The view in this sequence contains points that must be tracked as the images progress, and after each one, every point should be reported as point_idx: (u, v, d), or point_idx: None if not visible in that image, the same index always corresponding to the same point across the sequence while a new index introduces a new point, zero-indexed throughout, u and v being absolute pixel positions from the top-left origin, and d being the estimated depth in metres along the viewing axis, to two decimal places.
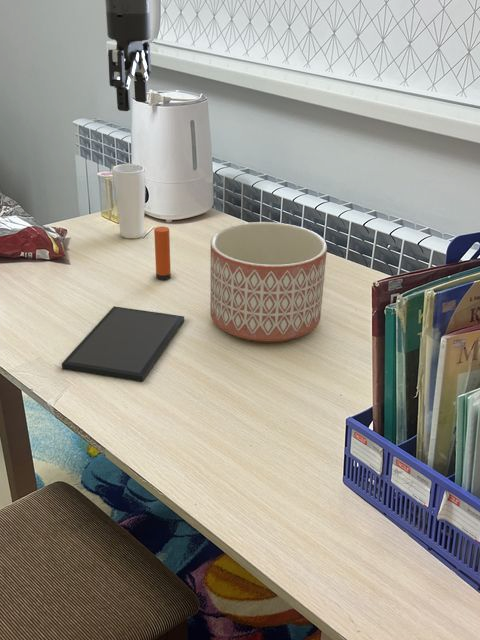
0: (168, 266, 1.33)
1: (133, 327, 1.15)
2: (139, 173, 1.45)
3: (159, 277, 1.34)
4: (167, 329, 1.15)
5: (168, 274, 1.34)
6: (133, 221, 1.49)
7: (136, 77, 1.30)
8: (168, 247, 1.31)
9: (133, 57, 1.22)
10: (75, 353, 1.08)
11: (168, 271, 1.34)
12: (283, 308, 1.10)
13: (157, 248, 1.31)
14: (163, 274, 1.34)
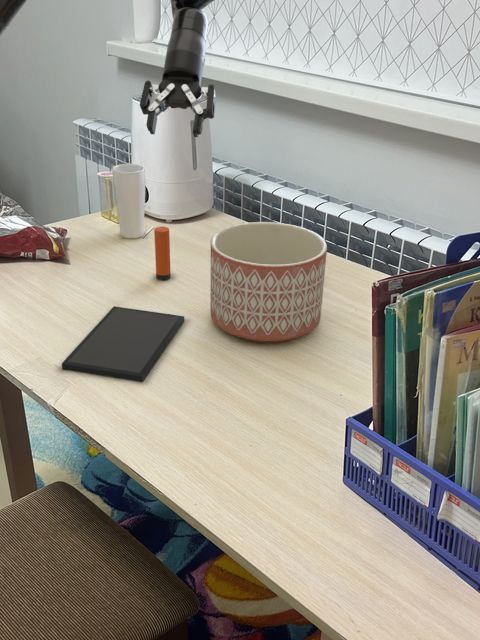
0: (168, 266, 1.33)
1: (133, 327, 1.15)
2: (139, 173, 1.45)
3: (159, 277, 1.34)
4: (167, 329, 1.15)
5: (168, 274, 1.34)
6: (133, 221, 1.49)
7: (155, 110, 1.33)
8: (168, 247, 1.31)
9: None
10: (75, 353, 1.08)
11: (168, 271, 1.34)
12: (283, 308, 1.10)
13: (157, 248, 1.31)
14: (163, 274, 1.34)
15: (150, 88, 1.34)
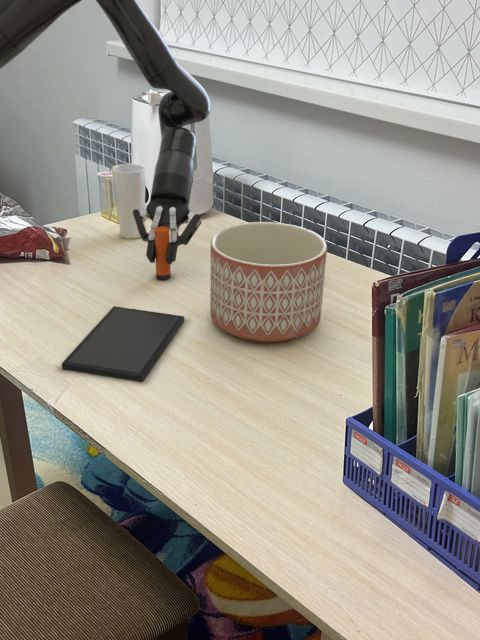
0: (168, 266, 1.33)
1: (133, 327, 1.15)
2: (139, 173, 1.45)
3: (159, 277, 1.34)
4: (167, 329, 1.15)
5: (168, 274, 1.34)
6: (133, 221, 1.49)
7: None
8: None
9: None
10: (75, 353, 1.08)
11: (168, 271, 1.34)
12: (283, 308, 1.10)
13: (157, 248, 1.31)
14: (163, 274, 1.34)
15: (141, 215, 1.33)
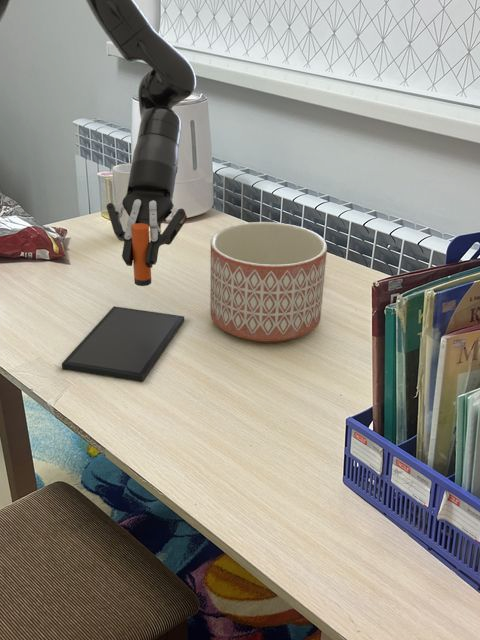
0: (148, 270, 1.14)
1: (133, 327, 1.15)
2: None
3: (138, 283, 1.15)
4: (167, 329, 1.15)
5: (148, 279, 1.15)
6: None
7: None
8: (147, 247, 1.12)
9: None
10: (75, 353, 1.08)
11: (148, 275, 1.14)
12: (283, 308, 1.10)
13: (134, 248, 1.12)
14: (142, 279, 1.14)
15: (116, 210, 1.13)
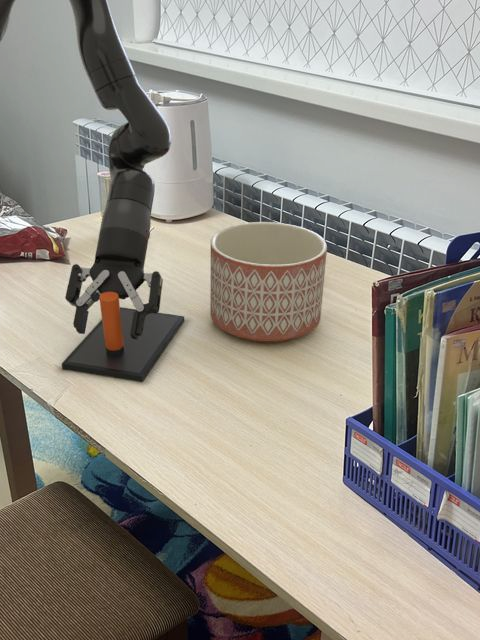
0: (120, 339, 1.06)
1: None
2: None
3: (109, 353, 1.07)
4: (167, 329, 1.15)
5: (120, 348, 1.07)
6: None
7: (85, 304, 1.05)
8: (118, 318, 1.04)
9: None
10: (75, 353, 1.08)
11: (120, 345, 1.07)
12: (283, 308, 1.10)
13: (104, 319, 1.04)
14: (114, 349, 1.07)
15: (79, 274, 1.05)
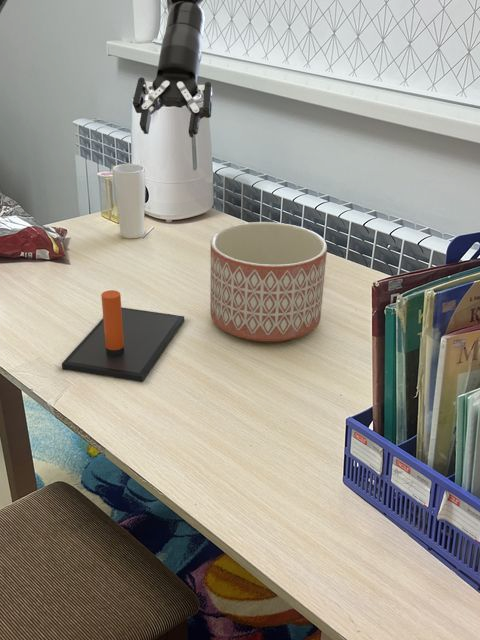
0: (120, 339, 1.07)
1: (133, 327, 1.15)
2: (139, 173, 1.45)
3: (110, 352, 1.07)
4: (167, 329, 1.15)
5: (121, 348, 1.07)
6: (133, 221, 1.49)
7: (148, 108, 1.26)
8: (119, 316, 1.05)
9: None
10: (75, 353, 1.08)
11: (120, 345, 1.07)
12: (283, 308, 1.10)
13: (105, 318, 1.04)
14: (114, 349, 1.07)
15: (144, 85, 1.27)
